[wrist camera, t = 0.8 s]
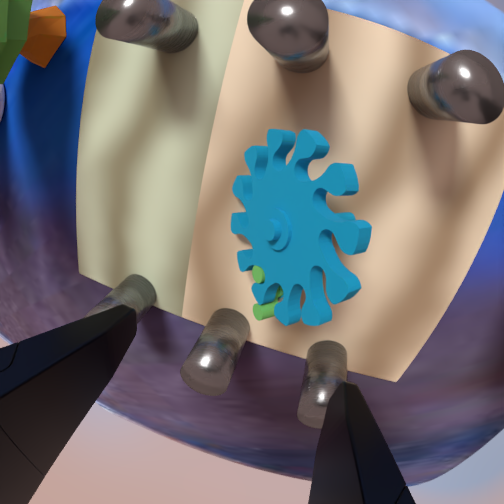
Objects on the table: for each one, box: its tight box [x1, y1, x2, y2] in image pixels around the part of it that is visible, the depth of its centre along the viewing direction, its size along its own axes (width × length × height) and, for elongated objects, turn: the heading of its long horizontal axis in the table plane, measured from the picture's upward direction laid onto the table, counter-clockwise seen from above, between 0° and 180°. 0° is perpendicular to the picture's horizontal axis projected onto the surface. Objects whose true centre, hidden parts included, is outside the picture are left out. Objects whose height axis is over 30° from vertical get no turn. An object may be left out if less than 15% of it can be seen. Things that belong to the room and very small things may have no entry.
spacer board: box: [76, 0, 504, 382], centre depth 19 cm, size 30×24×1 cm
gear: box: [231, 129, 372, 326], centre depth 17 cm, size 11×6×10 cm
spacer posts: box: [84, 0, 504, 429], centre depth 17 cm, size 19×23×6 cm
